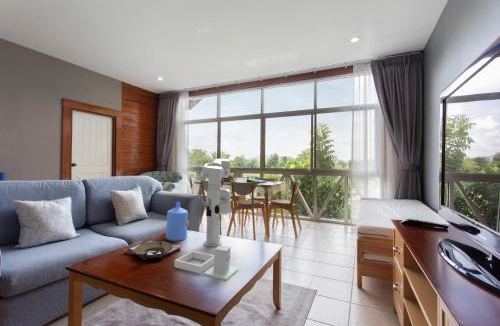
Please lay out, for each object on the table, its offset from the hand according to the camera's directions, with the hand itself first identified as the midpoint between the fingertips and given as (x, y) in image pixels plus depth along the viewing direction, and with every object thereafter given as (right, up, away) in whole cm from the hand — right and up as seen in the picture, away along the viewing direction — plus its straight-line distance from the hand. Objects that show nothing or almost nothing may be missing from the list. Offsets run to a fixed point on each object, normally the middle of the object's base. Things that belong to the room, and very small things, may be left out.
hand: (212, 214), depth 156 cm
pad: (+7, -29, -16) cm, 34 cm away
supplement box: (+7, -28, -16) cm, 33 cm away
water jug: (-34, -26, +39) cm, 58 cm away
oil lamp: (-40, -27, +2) cm, 48 cm away
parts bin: (-9, -28, -8) cm, 30 cm away
